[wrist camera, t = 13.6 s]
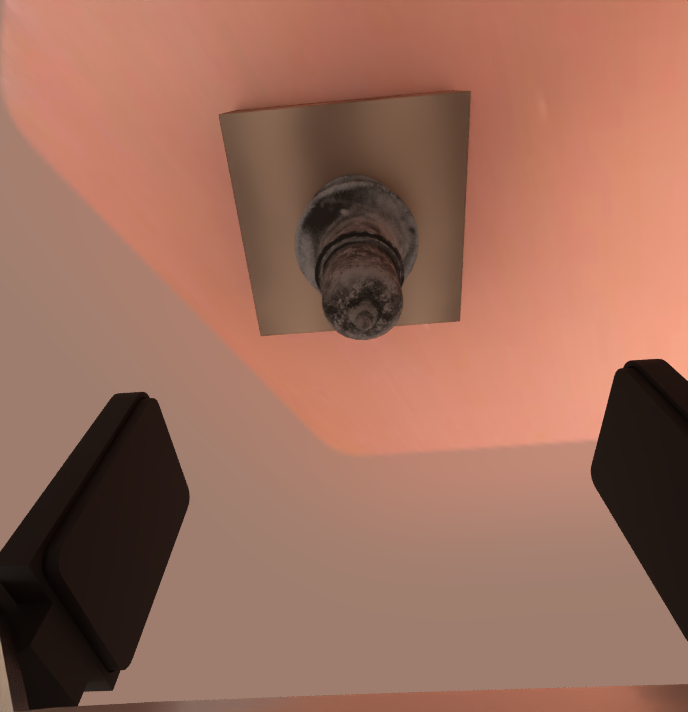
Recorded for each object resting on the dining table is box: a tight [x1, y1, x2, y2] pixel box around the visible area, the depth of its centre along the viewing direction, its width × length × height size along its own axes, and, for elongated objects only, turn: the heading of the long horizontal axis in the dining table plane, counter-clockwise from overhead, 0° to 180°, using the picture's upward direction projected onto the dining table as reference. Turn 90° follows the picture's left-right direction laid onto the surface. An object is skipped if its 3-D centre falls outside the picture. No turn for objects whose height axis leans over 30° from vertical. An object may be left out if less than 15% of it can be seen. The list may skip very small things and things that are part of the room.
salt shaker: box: [294, 175, 419, 340], centre depth 20 cm, size 6×6×12 cm
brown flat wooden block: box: [219, 90, 471, 336], centre depth 27 cm, size 12×12×4 cm
